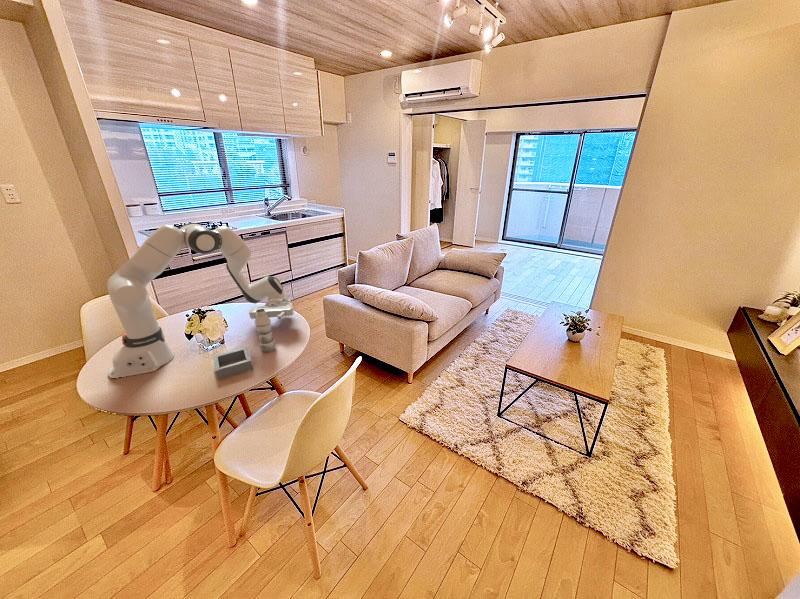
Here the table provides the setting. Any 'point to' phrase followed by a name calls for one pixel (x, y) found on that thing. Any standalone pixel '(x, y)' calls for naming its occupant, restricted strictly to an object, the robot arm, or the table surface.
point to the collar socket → (232, 368)
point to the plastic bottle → (264, 331)
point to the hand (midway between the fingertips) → (269, 318)
